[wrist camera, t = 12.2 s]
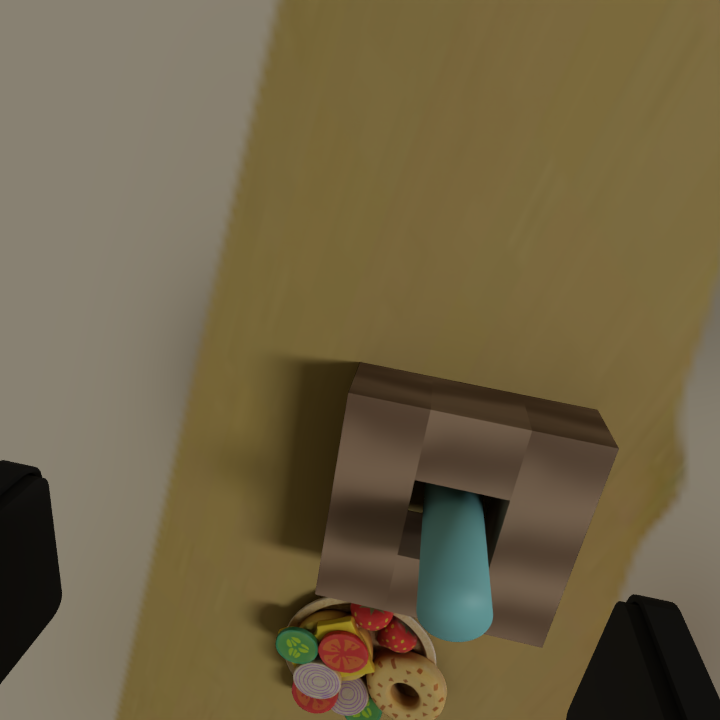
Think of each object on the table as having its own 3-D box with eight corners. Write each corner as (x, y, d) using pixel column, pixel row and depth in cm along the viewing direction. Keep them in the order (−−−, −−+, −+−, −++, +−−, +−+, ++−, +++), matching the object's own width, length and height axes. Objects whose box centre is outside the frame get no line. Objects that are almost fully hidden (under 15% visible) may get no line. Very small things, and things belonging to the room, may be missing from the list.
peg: (430, 455, 40) (424, 575, 29) (486, 467, 40) (501, 593, 29) (420, 501, 42) (409, 631, 31) (473, 513, 42) (483, 649, 31)
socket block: (360, 362, 39) (348, 392, 34) (597, 410, 37) (618, 448, 33) (328, 547, 45) (315, 594, 40) (532, 593, 43) (542, 647, 39)
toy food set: (458, 691, 49) (459, 728, 46) (319, 712, 52) (311, 746, 49) (405, 570, 45) (402, 601, 42) (259, 601, 48) (246, 632, 45)
